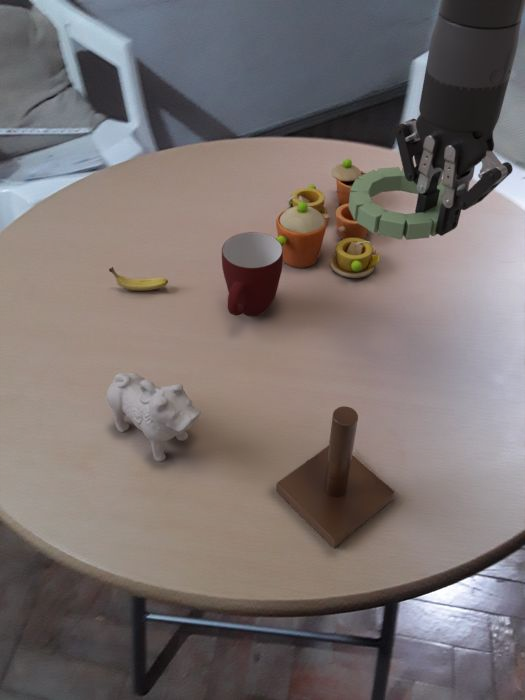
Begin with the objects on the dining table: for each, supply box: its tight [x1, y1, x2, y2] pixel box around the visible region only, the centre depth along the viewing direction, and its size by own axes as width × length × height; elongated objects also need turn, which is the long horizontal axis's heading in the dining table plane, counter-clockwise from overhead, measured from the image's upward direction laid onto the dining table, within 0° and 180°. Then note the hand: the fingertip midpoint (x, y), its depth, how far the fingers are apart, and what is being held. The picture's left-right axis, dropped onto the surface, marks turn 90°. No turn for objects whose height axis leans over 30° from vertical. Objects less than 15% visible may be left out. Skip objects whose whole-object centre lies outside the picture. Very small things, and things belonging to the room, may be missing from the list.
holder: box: [275, 405, 396, 549], centre depth 69 cm, size 9×9×14 cm
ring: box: [349, 166, 445, 241], centre depth 76 cm, size 12×12×2 cm
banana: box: [108, 266, 169, 291], centre depth 97 cm, size 8×2×4 cm, turn 90°
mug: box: [221, 231, 284, 317], centre depth 92 cm, size 11×8×10 cm
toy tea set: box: [275, 158, 380, 279], centre depth 106 cm, size 26×16×10 cm, turn 174°
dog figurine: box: [105, 372, 202, 462], centre depth 76 cm, size 5×13×11 cm, turn 51°
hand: (434, 225), depth 74 cm, fingers closed on ring, 2 cm apart
